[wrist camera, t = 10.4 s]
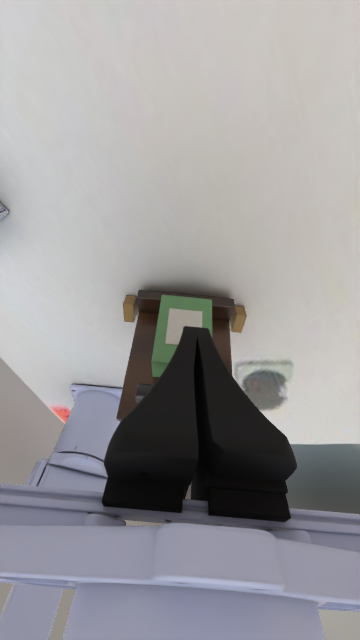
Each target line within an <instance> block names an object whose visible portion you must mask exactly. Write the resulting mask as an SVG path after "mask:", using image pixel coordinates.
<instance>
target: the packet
mask: <svg viewBox="0 0 360 640" xmlns="http://www.w3.org/2000/svg"><path fill="white" fill-rule="evenodd" d="M185 326H191V327H201V328H208V329H209V330H210V333H211V336H212V300H211V299H202V298H191V297H181V296H171V295H162V296H161V302H160V309H159V315H158V322H157V328H156V335H155V341H154V348H153V354H152V361H151V362H152V375H153V377H160V376H161V375H162V373H163V372H164V370H165V368H166V367H167V365H168V363H169V362H170V360H171V358H172V356H173V354H174V352H175V350H176V348H177V346H178V344H179V341H180V339H181V336H182V332H183V327H185Z"/></svg>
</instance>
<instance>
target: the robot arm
mask: <svg viewBox="0 0 360 640" xmlns="http://www.w3.org/2000/svg"><path fill="white" fill-rule="evenodd" d="M70 390H71V393H72V396H73V398H74V401H75V403H74V406H73V408H72V410H71V412H70V415H69V417H68V419H67V421H66V424H65V426H64V428H63V430H62V433H61V435H60V437H59V440H58V442H57V444H56V446H55V448H54V451H53V453H52V455H51V456H50V458H49V460H48V462H47V459H42V460H41V461H39V462H37V463H36V464H35V466H34V468H33V470H32V472H31V474H30V476H29V478H28V480H27V482H26V484H25V485H14V484H4V483H0V582H3V583H13V585H12V588H11V590H10V592H9V595H8V597H7V600H6V602H5V605H4V607H3V610H2V612H1V614H0V640H48V639H49V636H50V633H51V629H52V626H53V623H54V619H55V616H56V613H57V609H58V606H59V602H60V599H61V596H62V593H63V589H64V588H66V589H75V594H74V597H73V601H72V605H71V609H70V613H69V616H68V620H67V624H66V628H65V631H64V635H63V639H62V640H326V639H325V635H324V631H323V627H322V623H321V619H320V615H319V611H318V609H324V610H338V611H354V612H360V514H348V513H337V512H326V511H315V510H302V509H292V508H289V507H288V503H287V499H286V495H285V494H286V493H287V492H288V490H287V486H286V482H285V480H287V479H288V478H289V477H290V476H291V475H292V474H293V473H294V471H295V470H296V468H297V463H296V460H295V456H294V454H293V451H292V449H291V446H290V444H289V441H288V439H287V437H286V436H285V435H284V434H283V433H282V432H281V431H280V430H278V429H277V428H276V427H275V426H274V425H273V424H272V423H271V422H270V421H269V420H268V419H267V418H266V417H265V416H264V415H263V414H262V413H261V412H260V411H259V410H258V408H257V407H256V406H255V405H254V404H253V403H252V401H251V400H250V399H249V398H248V397H247V396H246V394H245V393H244V392H243V390H242V389H241V388H240V387H239V385H238V384H237V382H236V381H235V379H234V378H233V376H232V375H231V373H230V372H229V370H228V368H227V367H226V365H225V363H224V362H223V360H222V358H221V356H220V354H219V352H218V350H217V348H216V346H215V343H214V341H213V339H212V336H211V333H210V330H209V329H208V328H201V327H191V326H185V327H183V332H182V336H181V339H180V341H179V344H178V346H177V348H176V350H175V352H174V354H173V356H172V358H171V360H170V362H169V363H168V365H167V367H166V368H165V370H164V372H163V373H162V375H161V376H160V377H159V379H158V380H157V382H156V383H155V384H154V386H153V387H152V388H151V389H150V391H149V392H148V393H147V394H146V395H145V396H144V398H143V399H142V400H141V401H140V402H139V403H138V404H137V405H136V407H135V408H134V409H133V410H132V411H131V412H130V413H128V414H127V415H126V416H125V417H124V418H123V419H122V420H121V421H118V420H117V419H116V417H117V412H118V408H119V403H120V399H121V394H122V389H118V388H107V387H96V386H86V385H75V384H72V385H71V386H70ZM46 462H47V463H46ZM191 481H192V485H191V500H188V499H185V497H186V493H187V490H188V487H189V485H190V484H191ZM124 520H131V521H144V522H155V523H166V524H164V525H162V526H126V522H125V521H124Z"/></svg>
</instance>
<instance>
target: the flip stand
mask: <svg viewBox="0 0 360 640" xmlns="http://www.w3.org/2000/svg"><path fill="white" fill-rule="evenodd" d="M162 295H171V296H181V297H191V298H202V299H211V300H212V339H213V341H214V343H215V346H216V348H217V350H218V352H219V354H220V356H221V358H222V360H223V362H224V363H225V365H226V367H227V368H228V370H229V372H230V373H231V375H232V362H231V345H230V329H229V320H230V317H231V315H232V312H233V310H234V308H235V304H234V299H226V298H216V297H206V296H196V295H186V294H176V293H165V292H155V291H145V290H139V292H138V297H137V299H138V307H139V315H138V320H137V324H136V329H135V334H134V338H133V343H132V348H131V352H130V357H129V361H128V366H127V371H126V375H125V380H124V385H123V389H122V394H121V399H120V403H119V408H118V412H117V417H116V419H117V420H118V421H121V420H122V419H123V418H124V417H125V416H126V415H127V414H128V413H130V412H131V411H132V410H133V409H134V408H135V407H136V405H137V404H138V403H139V402H140V401H141V400H142V399H143V398H144V396H145V395H146V394H147V393H148V392H149V391H150V389H151V388H152V387H153V386H154V384H155V383H156V382H157V380H158V379H159V377H153V375H152V362H151V361H152V354H153V348H154V341H155V335H156V328H157V322H158V315H159V309H160V302H161V296H162Z"/></svg>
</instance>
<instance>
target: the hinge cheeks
mask: <svg viewBox="0 0 360 640" xmlns="http://www.w3.org/2000/svg"><path fill="white" fill-rule="evenodd" d="M123 309H124V321H125V322H134V321H135V318H136V315H137V299H136V296H129V295H127V296H126V298H125V301H124V303H123ZM245 319H246V312H245V309H244V307H242V306H235V308H234V310H233V313H232V317H231V320H230V325H231V331H232V332H239V333H241V332H242V329H243V326H244V322H245Z"/></svg>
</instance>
